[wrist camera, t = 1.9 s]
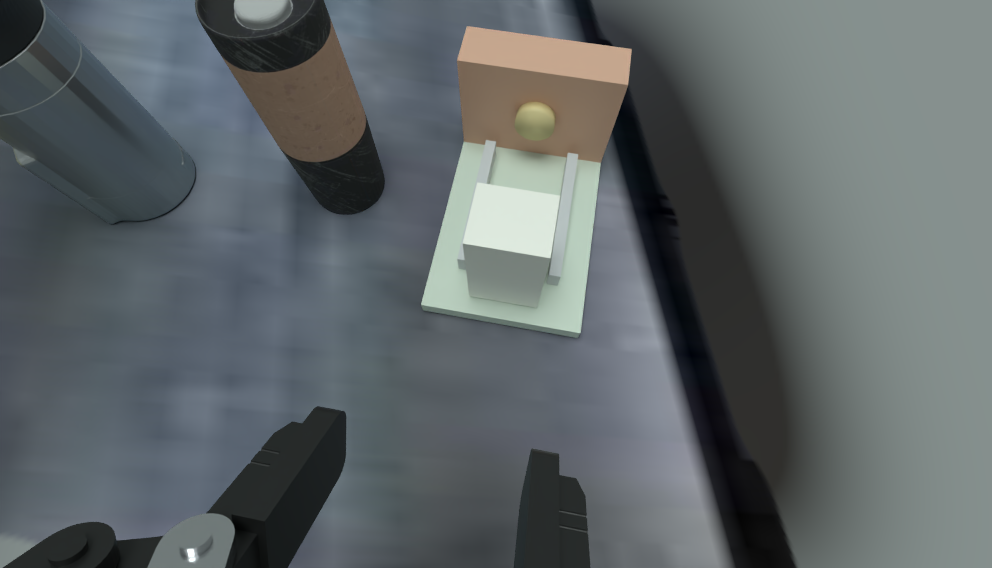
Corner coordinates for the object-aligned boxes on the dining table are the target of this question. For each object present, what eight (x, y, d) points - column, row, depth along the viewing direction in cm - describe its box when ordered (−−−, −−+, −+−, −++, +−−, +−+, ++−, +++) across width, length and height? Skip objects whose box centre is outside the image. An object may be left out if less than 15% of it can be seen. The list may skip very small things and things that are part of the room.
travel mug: (396, 204, 46) (331, 22, 27) (320, 226, 45) (199, 53, 26) (377, 145, 49) (306, -56, 30) (305, 165, 48) (185, -31, 29)
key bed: (577, 338, 41) (607, 290, 30) (423, 310, 42) (399, 254, 31) (601, 141, 49) (631, 49, 38) (472, 121, 50) (467, 26, 39)
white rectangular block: (536, 308, 40) (550, 258, 31) (469, 296, 40) (462, 243, 31) (545, 256, 42) (560, 195, 33) (480, 246, 42) (477, 182, 33)
